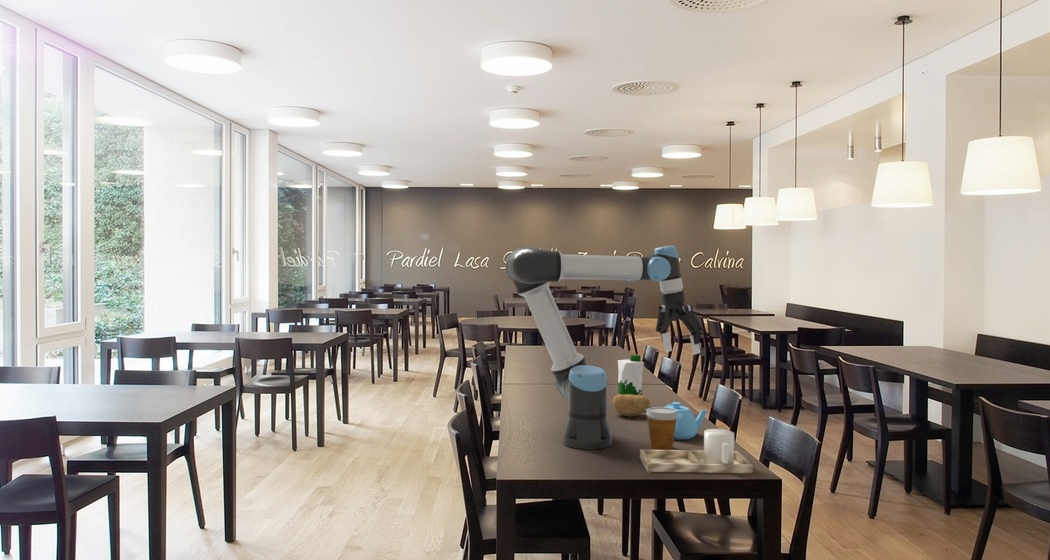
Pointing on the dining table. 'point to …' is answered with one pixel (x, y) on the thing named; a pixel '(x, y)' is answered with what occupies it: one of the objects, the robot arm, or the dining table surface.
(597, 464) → the dining table surface
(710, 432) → the white mug
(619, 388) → the milk carton
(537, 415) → the dining table surface
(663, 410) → the disposable coffee cup
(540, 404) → the dining table surface
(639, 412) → the potato
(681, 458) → the cup carrier
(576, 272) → the robot arm
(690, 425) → the teapot
